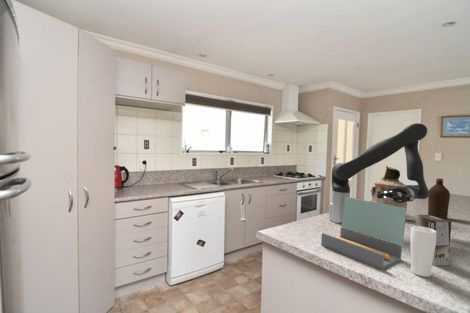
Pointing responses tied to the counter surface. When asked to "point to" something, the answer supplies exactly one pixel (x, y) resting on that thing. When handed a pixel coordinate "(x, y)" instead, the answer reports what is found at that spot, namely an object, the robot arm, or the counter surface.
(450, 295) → the counter surface
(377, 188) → the cookie jar
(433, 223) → the coffee box
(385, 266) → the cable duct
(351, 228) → the panel
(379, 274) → the counter surface
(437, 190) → the olive oil
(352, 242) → the wooden dowel rod
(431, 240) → the white tapered cylinder
